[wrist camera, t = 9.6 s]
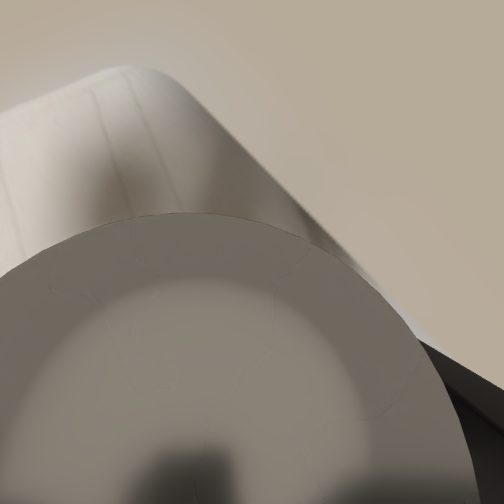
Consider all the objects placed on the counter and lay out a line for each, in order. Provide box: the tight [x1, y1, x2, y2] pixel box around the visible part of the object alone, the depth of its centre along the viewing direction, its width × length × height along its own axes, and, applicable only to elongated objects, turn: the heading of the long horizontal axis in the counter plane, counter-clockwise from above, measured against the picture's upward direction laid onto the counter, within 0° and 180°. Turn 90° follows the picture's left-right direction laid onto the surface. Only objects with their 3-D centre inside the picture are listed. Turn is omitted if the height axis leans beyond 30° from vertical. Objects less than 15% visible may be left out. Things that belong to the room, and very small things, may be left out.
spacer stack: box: [0, 213, 481, 504], centre depth 9 cm, size 6×6×14 cm
